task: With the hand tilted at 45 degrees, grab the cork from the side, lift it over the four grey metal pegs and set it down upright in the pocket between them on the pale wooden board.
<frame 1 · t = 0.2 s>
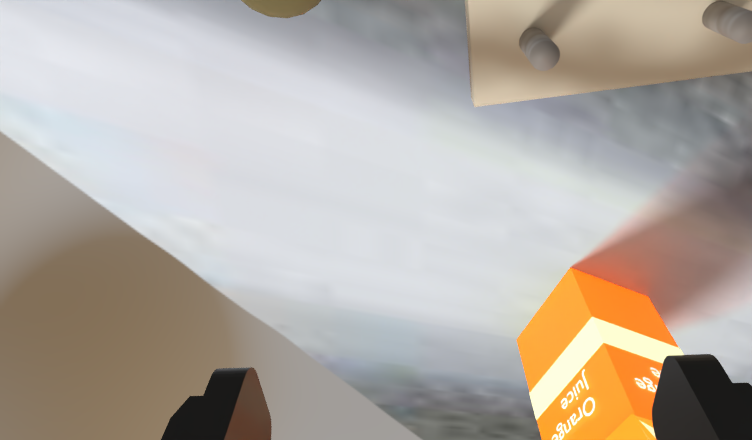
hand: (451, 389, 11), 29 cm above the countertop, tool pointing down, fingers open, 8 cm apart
orange juice: (579, 317, 47), on the countertop
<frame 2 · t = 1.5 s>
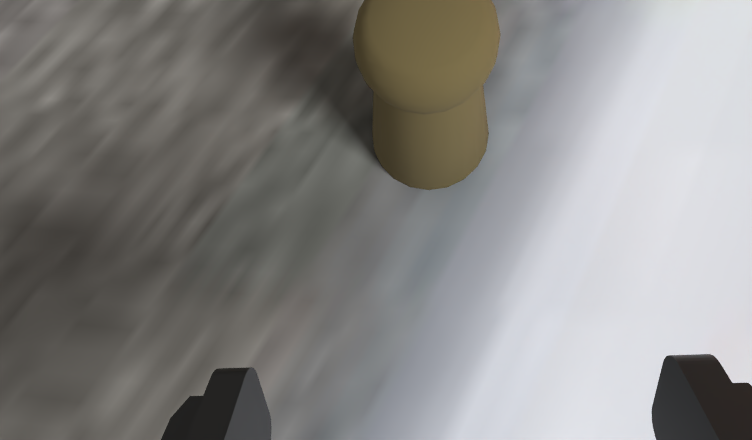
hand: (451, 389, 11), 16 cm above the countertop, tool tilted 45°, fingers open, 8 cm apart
cork: (429, 135, 29), on the countertop
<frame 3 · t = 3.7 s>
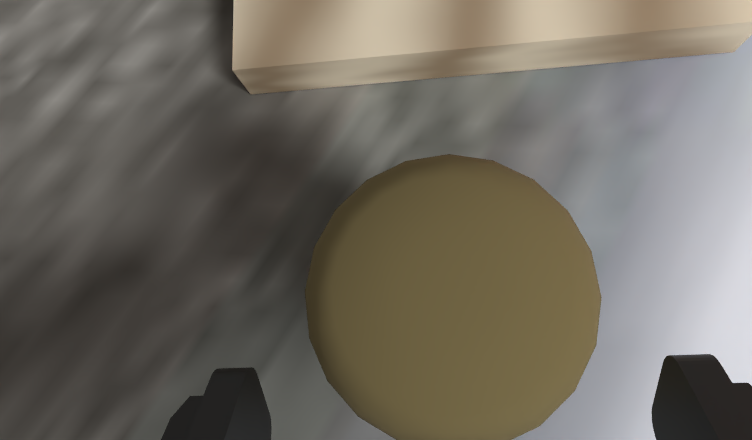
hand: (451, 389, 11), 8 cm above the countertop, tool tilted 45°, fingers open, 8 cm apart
cork: (444, 318, 19), on the countertop
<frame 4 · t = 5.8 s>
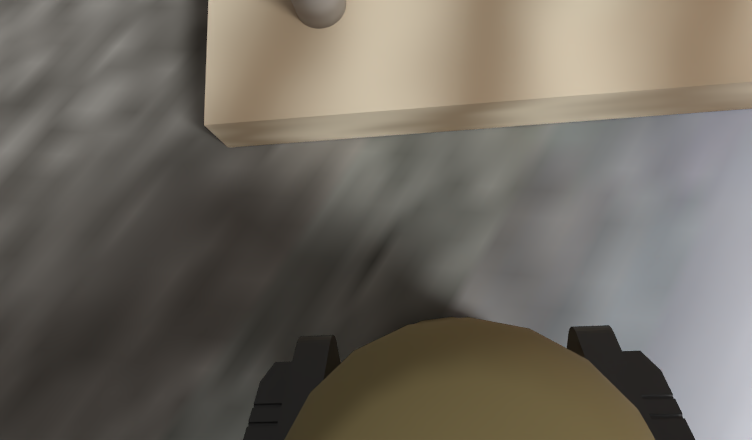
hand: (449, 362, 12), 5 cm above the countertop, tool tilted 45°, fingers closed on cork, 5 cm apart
cork: (451, 420, 16), on the countertop, touching gripper
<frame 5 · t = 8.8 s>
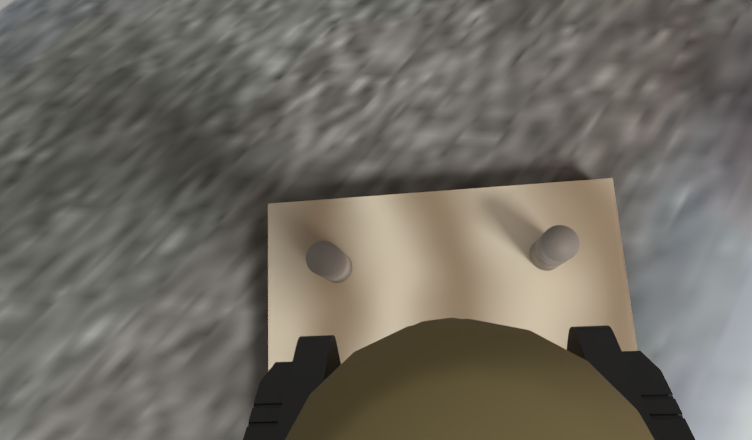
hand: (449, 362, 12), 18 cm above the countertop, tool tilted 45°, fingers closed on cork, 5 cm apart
peg board: (446, 366, 29), on the countertop
cork: (452, 421, 16), point 13 cm above the countertop, touching gripper
when the fingers open (8 cm above the countertop, at t = 12.1 s): cork drops 1 cm, resting on peg board.
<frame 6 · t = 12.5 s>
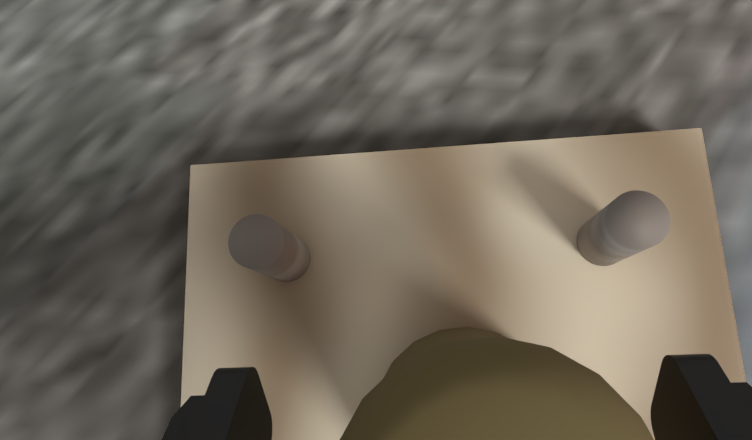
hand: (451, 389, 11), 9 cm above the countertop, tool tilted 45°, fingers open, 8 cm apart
peg board: (449, 407, 19), on the countertop
cork: (466, 422, 18), point 2 cm above the countertop, touching peg board
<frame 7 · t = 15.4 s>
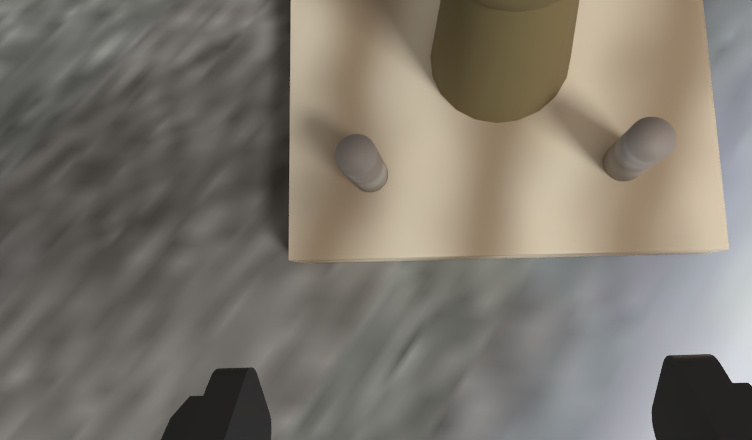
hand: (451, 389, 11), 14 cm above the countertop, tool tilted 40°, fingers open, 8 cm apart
peg board: (485, 70, 26), on the countertop
cork: (498, 58, 24), point 2 cm above the countertop, touching peg board
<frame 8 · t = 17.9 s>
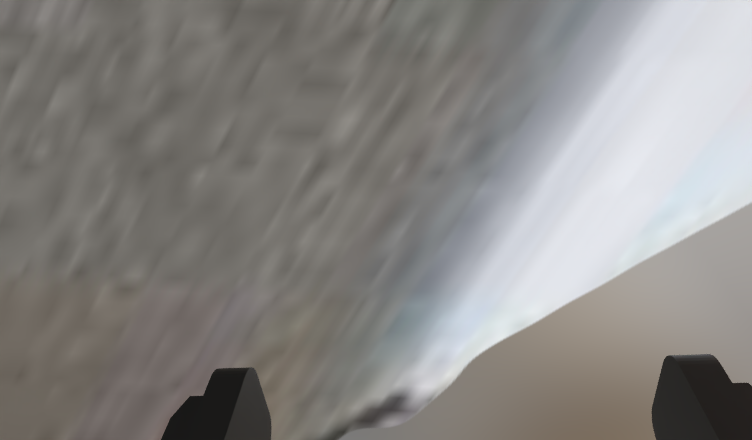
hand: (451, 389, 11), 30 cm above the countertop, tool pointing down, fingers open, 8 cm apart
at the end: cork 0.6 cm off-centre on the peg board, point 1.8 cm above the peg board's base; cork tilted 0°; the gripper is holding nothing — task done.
